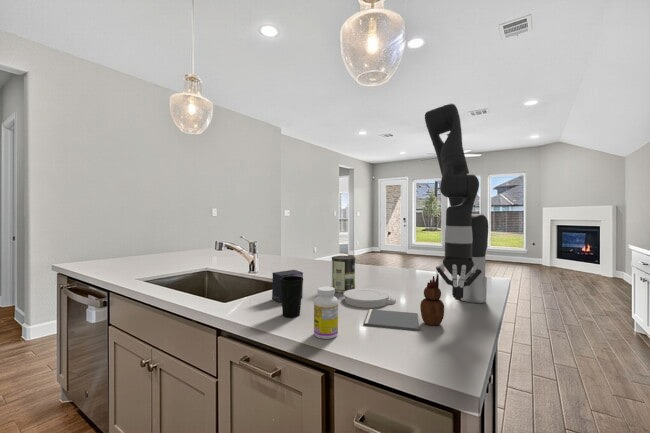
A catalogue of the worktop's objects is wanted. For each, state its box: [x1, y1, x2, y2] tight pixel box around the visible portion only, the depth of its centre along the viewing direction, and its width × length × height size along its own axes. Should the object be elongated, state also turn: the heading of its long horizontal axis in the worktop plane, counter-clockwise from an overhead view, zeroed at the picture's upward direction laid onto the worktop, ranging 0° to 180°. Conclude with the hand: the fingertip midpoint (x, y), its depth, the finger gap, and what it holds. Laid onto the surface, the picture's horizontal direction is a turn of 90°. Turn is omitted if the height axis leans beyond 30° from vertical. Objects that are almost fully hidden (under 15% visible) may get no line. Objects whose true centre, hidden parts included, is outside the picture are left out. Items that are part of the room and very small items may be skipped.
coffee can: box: [331, 255, 356, 294], centre depth 134 cm, size 10×10×14 cm
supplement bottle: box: [313, 286, 339, 340], centre depth 85 cm, size 7×7×13 cm
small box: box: [271, 269, 304, 304], centre depth 120 cm, size 11×6×10 cm, turn 131°
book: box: [362, 308, 420, 332], centre depth 97 cm, size 16×14×1 cm
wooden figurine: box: [419, 273, 445, 326], centre depth 94 cm, size 7×6×15 cm
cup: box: [280, 276, 304, 319], centre depth 101 cm, size 8×8×12 cm
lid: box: [343, 288, 397, 309], centre depth 118 cm, size 17×20×3 cm
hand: (457, 299), depth 92 cm, fingers closed
